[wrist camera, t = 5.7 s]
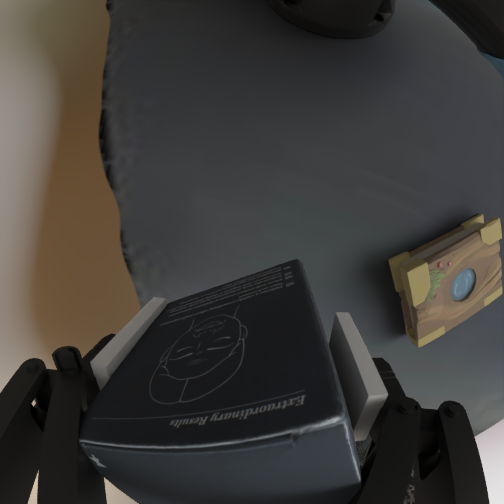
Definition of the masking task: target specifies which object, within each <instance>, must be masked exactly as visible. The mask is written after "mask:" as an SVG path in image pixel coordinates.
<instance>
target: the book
mask: <svg viewBox="0 0 504 504" xmlns="http://www.w3.org/2000/svg"><path fill="white" fill-rule="evenodd" d="M460 225H461V226H460V227H458V228H456V229H454V230H452V231H450V232H448V233H446V234H444V235H442V236H440V237H439V238H437V239H435V240H433V241H431V242H429V243H427V244H425V245H423V246H421V247H419V248H417V249H415V250H413V251H411V252H407V251H405V252H403V253H401V254H399V255H397V256H394V257H392V258H390V259H388V261H389V265H390V269H391V273H392V277H393V281H394V286H395V290H396V291H397V292H399V296H400V297H401V298H402V299H401V306H402V311H403V315H404V321H405V328H406V334H407V335H408V337H409V339H410V340H411V341H412V343H413V344H414V345H416V346H417V347H418V348H419V347H421V346H423V345H425V344H427V343H429V342H431V341H432V340H434V339H436V338H438V337H439V336H441V335H443V334H444V333H445V332H447V331H449V330H450V329H452V328H453V327H455V326H457V325H458V324H460V323H461V322H463V321H464V320H466V319H467V318H469V317H470V316H472V315H473V314H475V313H476V312H478V311H479V310H480V309H482V308H483V307H485V306H486V305H488V304H489V303H491V302H492V301H493V300H495V299H496V298H497V297H498V296H500V295H501V294H502V281H501V279H500V278H501V276H502V269H501V259H500V257H499V251H500V245H499V239H501V238H502V233H501V225H500V218H495V217H493V218H492V219H490V220H488V221H487V222H485V223H484V219H483V214H479V215H477V216H475V217H473V218H471V219H470V220H468V221H466V222H464V223H462V224H460Z"/></svg>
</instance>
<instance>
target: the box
mask: <svg viewBox="0 0 504 504" xmlns="http://www.w3.org/2000/svg"><path fill="white" fill-rule="evenodd" d="M79 443H80V446H81V447H82V449H83V450H84V452H85V454H86V455H87V457H88V458H89V460H90V461H91V462H92V464H93V465H94V467H95V468H96V469H97V471H98V472H99V473H100V474H101V475H102V476H103V477H105V478H106V479H107V480H109V482H111V483H112V484H113V485H114V486H116V487H117V488H118V489H119V490H121V491H122V492H123V493H125V494H126V495H128V496H129V497H130V498H132V499H133V500H135V501H136V502H137V503H139V504H347V503H348V502H349V501H350V500H351V499H352V498H353V497H354V496H355V494H356V493H357V492H358V491H359V490H360V488H361V487H362V471H361V465H360V460H359V456H358V451H357V447H356V443H355V438H354V434H353V430H352V426H351V421H350V418H349V414H348V410H347V407H346V403H345V399H344V396H343V392H342V388H341V385H340V381H339V378H338V374H337V371H336V368H335V364H334V361H333V357H332V354H331V351H330V347H329V344H328V341H327V338H326V334H325V331H324V328H323V325H322V321H321V318H320V315H319V312H318V309H317V306H316V303H315V300H314V297H313V294H312V291H311V288H310V285H309V282H308V280H307V277H306V274H305V271H304V268H303V264H302V263H301V262H300V261H299V260H298V259H295V260H292V261H288V262H286V263H283V264H280V265H277V266H274V267H272V268H269V269H266V270H263V271H260V272H257V273H255V274H252V275H249V276H246V277H243V278H240V279H237V280H234V281H232V282H229V283H226V284H223V285H220V286H217V287H214V288H211V289H208V290H206V291H202V292H200V293H197V294H194V295H191V296H188V297H185V298H182V299H179V300H176V301H173V302H170V303H168V304H167V306H166V307H165V308H164V310H163V311H162V312H161V313H160V314H159V316H158V317H157V318H156V319H155V321H154V322H153V323H152V325H151V326H150V327H149V328H148V329H147V331H146V332H145V333H144V335H143V336H142V337H141V338H140V340H139V341H138V342H137V343H136V345H135V346H134V347H133V348H132V350H131V351H130V353H129V354H128V355H127V357H126V358H125V359H124V360H123V362H122V363H121V364H120V365H119V367H118V368H117V370H116V371H115V372H114V373H113V374H112V376H111V377H110V379H109V380H108V381H107V383H106V384H105V385H104V387H103V388H102V389H101V391H100V392H99V394H98V395H97V396H96V398H95V399H94V401H93V402H92V403H91V405H90V406H89V407H88V408H87V410H86V411H85V413H84V414H83V418H82V423H81V428H80V434H79Z"/></svg>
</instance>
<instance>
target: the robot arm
mask: <svg viewBox="0 0 504 504" xmlns="http://www.w3.org/2000/svg"><path fill="white" fill-rule="evenodd" d="M267 1H268V3H269V4H270V5H271V7H272V8H273V9H274V10H275V11H276V12H277V13H278V14H279V15H281V16H282V17H283V18H285V19H286V20H288V21H289V22H291V23H293V24H294V25H296V26H298V27H301V28H303V29H305V30H308V31H311V32H313V33H317V34H320V35H324V36H328V37H334V38H342V39H358V38H365V37H369V36H372V35H374V34H376V33H378V32H380V31H381V30H382V29H383V28H384V27H385V26H386V25H387V23H388V22H389V20H390V19H391V17H392V15H393V13H394V9H395V0H267ZM429 1H430V2H431V3H433V4H434V5H435V6H436V7H437V8H439V9H440V10H441V11H442V12H443V13H444V14H445V15H446V16H447V17H449V18H450V19H451V20H452V21H453V22H454V23H455V24H456V25H457V26H458V27H459V28H460V29H461V30H462V31H463V32H464V33H465V34H466V35H467V36H468V37H469V38H470V39H471V41H472V42H473V43H474V44H475V45H476V46H477V50H478V51H479V52H480V54H481V55H483V56H484V57H485V58H487V59H488V60H489V61H490V62H491V63H492V64H493V66H494V67H495V68H496V69H497V70H498V72H499V73H500V74H501V75H502V76H503V78H504V0H429ZM166 306H167V303H166V298H159V297H153V298H152V299H151V300H150V301H149V302H148V303H147V304H146V305H145V306H144V307H143V308H142V309H141V310H140V311H139V312H138V313H137V314H136V315H135V316H134V317H133V318H132V319H131V320H130V321H129V322H128V323H127V325H125V326H124V327H123V328H122V329H121V331H120V332H119V333H118V334H117V335H115V334H110V335H108V336H106V337H104V338H102V340H101V341H99V342H98V344H97V345H95V346H94V348H93V349H91V350H90V351H89V352H88V353H87V354H86V355H85V356H84V357H83V358H82V357H81V354H80V351H79V350H78V348H75V347H72V346H65V347H61V348H58V349H57V350H55V351H54V352H53V354H52V357H53V360H54V362H55V365H56V368H57V370H53V369H46V366H45V364H44V362H43V361H42V360H40V359H38V358H33V359H29V360H27V361H25V362H24V363H23V364H22V365H21V366H20V367H19V369H18V370H17V371H16V372H15V374H14V375H13V376H12V378H11V379H10V381H9V382H8V383H7V385H6V386H5V387H4V389H3V390H2V392H1V393H0V504H28V500H29V497H30V494H31V491H32V488H33V485H34V482H35V479H36V476H37V473H38V470H39V476H38V493H37V494H38V495H37V504H107V500H106V492H105V483H104V477H103V476H102V475H101V474H100V473H99V472H98V471H97V469H96V468H95V467H94V465H93V464H92V462H91V461H90V460H89V458H88V457H87V455H86V454H85V452H84V450H83V449H82V447H81V446H80V443H79V434H80V428H81V423H82V418H83V414H84V413H85V411H86V410H87V408H88V407H89V406H90V405H91V403H92V402H93V401H94V399H95V398H96V396H97V395H98V394H99V392H100V391H101V389H102V388H103V387H104V385H105V384H106V383H107V381H108V380H109V379H110V377H111V376H112V374H113V373H114V372H115V371H116V370H117V368H118V367H119V365H120V364H121V363H122V362H123V360H124V359H125V358H126V357H127V355H128V354H129V353H130V351H131V350H132V348H133V347H134V346H135V345H136V343H137V342H138V341H139V340H140V338H141V337H142V336H143V335H144V333H145V332H146V331H147V329H148V328H149V327H150V326H151V325H152V323H153V322H154V321H155V319H156V318H157V317H158V316H159V314H160V313H161V312H162V311H163V310H164V308H165V307H166ZM329 347H330V351H331V354H332V357H333V361H334V364H335V368H336V371H337V374H338V378H339V381H340V385H341V388H342V392H343V396H344V399H345V403H346V407H347V410H348V414H349V418H350V421H351V426H352V430H353V434H354V438H355V441H363V440H366V438H367V436H368V434H369V433H371V437H372V441H371V442H370V444H369V446H368V447H367V449H366V451H365V452H364V454H363V455H365V457H364V460H363V462H362V465H361V471H362V487H361V488H360V490H359V491H358V492H357V493H356V494H355V496H354V497H353V498H352V499H351V500H350V501H349V502H348V503H347V504H403V503H404V500H405V496H406V493H407V489H408V485H409V481H410V477H411V473H412V468H413V469H414V490H415V504H489V498H488V492H487V486H486V481H485V476H484V472H483V467H482V463H481V459H480V455H479V452H478V448H477V444H476V441H475V438H474V434H473V431H472V428H471V425H470V422H469V419H468V416H467V413H466V410H465V409H464V407H463V406H462V405H461V404H460V403H457V402H455V401H445V402H443V403H442V404H441V405H440V407H439V408H438V410H434V409H423V408H421V406H420V405H419V403H418V402H417V401H415V400H414V399H412V398H409V397H406V395H405V393H404V391H403V389H402V387H401V386H400V384H399V382H398V380H397V378H396V376H395V374H394V372H393V370H392V368H391V367H390V365H389V363H387V362H386V361H385V360H384V359H383V358H371V356H370V354H369V352H368V350H367V348H366V346H365V344H364V342H363V340H362V337H361V335H360V333H359V331H358V329H357V328H356V326H355V324H354V322H353V320H352V318H351V316H350V314H349V312H335V318H334V323H333V328H332V333H331V338H330V342H329ZM33 400H35V402H36V404H35V406H34V407H33V405H32V404H31V403H32V402H33Z"/></svg>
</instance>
